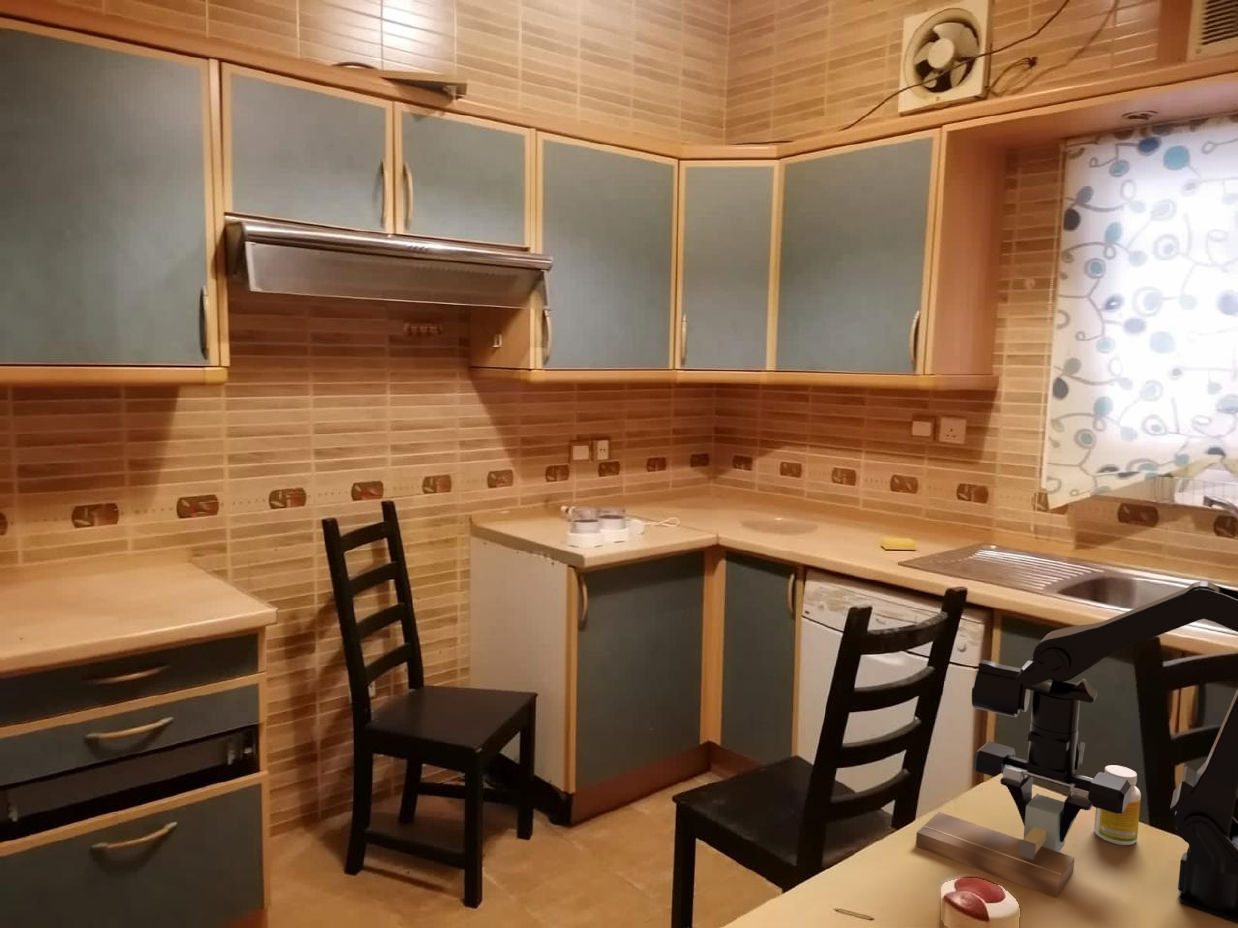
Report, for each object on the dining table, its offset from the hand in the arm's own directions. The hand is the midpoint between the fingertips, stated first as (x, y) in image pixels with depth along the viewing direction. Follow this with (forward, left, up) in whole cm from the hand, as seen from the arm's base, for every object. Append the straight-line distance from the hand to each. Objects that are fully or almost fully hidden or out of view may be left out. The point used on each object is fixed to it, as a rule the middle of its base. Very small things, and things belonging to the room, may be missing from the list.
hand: (1045, 835), depth 123 cm
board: (+5, +7, -2) cm, 9 cm away
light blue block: (0, +3, -1) cm, 4 cm away
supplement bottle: (-6, -12, -3) cm, 14 cm away
